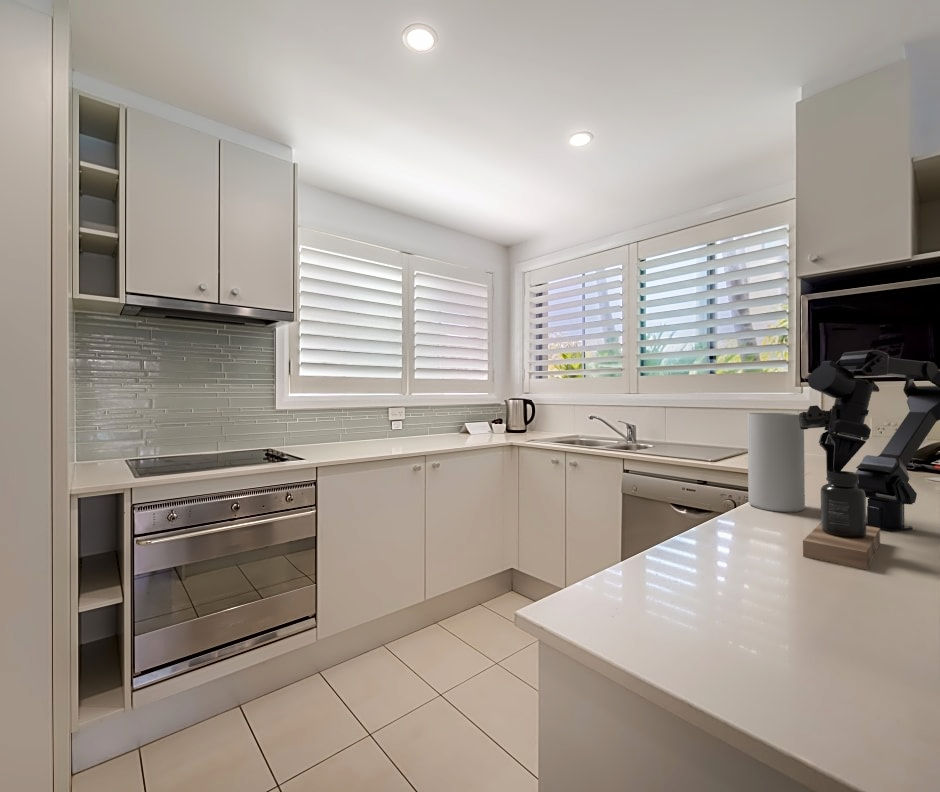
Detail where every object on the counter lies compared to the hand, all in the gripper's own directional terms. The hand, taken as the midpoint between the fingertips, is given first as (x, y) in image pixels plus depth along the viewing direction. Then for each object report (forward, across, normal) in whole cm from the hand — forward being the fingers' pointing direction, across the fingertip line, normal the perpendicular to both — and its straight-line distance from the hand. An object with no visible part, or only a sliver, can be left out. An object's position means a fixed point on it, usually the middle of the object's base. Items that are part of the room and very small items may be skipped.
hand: (832, 473), depth 98 cm
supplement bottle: (+12, +9, +3) cm, 16 cm away
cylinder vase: (+10, -24, -7) cm, 27 cm away
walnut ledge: (+15, +8, +4) cm, 18 cm away
